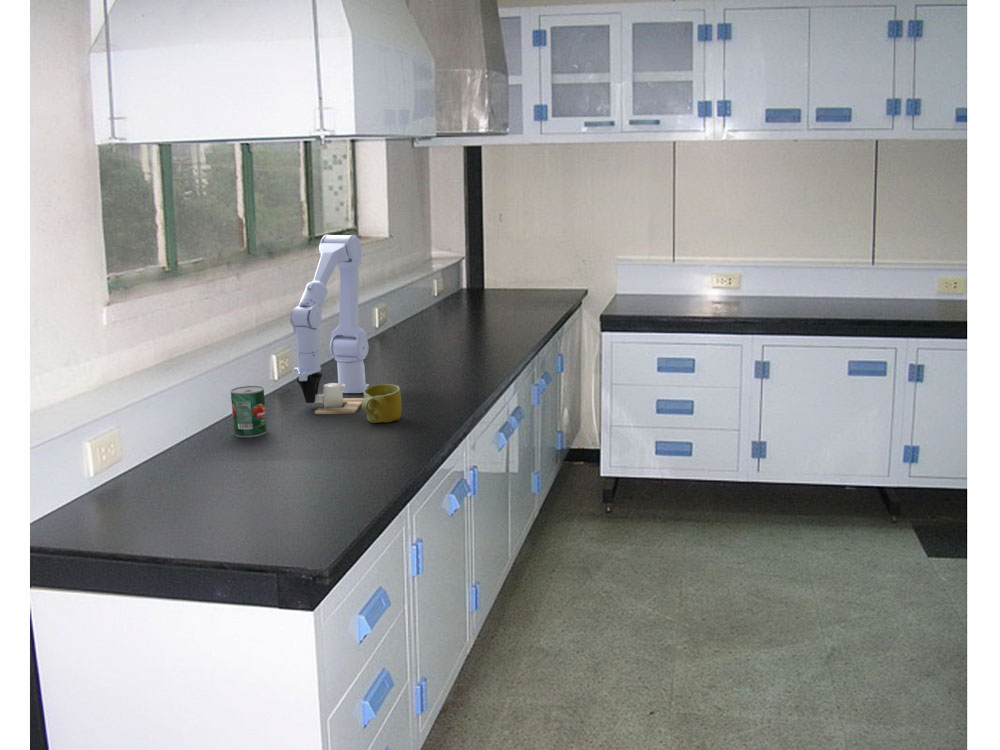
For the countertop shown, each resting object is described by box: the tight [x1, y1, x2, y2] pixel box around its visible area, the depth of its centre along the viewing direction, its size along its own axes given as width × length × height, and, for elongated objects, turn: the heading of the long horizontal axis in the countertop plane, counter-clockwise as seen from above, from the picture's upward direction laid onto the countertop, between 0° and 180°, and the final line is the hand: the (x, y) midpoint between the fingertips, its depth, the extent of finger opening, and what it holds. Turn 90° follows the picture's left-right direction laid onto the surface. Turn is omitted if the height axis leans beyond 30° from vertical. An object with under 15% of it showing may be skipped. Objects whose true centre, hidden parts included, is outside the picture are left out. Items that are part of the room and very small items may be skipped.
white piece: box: [313, 382, 346, 408], centre depth 274 cm, size 10×5×6 cm, turn 88°
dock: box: [314, 397, 364, 415], centre depth 275 cm, size 14×10×1 cm
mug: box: [361, 383, 402, 424], centre depth 259 cm, size 12×10×10 cm
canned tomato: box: [230, 385, 268, 438], centre depth 250 cm, size 8×8×11 cm
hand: (311, 401), depth 275 cm, fingers closed on white piece
